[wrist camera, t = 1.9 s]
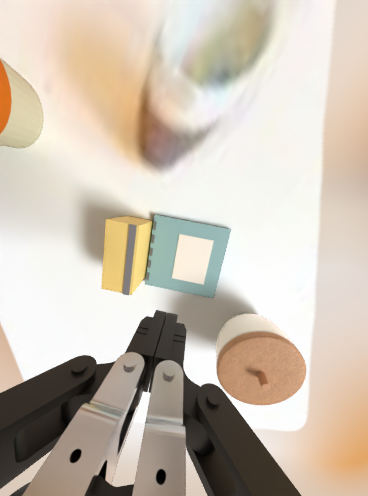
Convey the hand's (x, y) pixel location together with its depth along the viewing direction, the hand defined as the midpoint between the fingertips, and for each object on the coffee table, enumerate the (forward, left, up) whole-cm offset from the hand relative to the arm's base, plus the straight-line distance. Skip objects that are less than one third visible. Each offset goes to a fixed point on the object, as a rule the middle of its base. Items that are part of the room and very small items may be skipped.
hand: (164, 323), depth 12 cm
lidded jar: (+10, +12, -16) cm, 22 cm away
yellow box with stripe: (0, -7, -15) cm, 17 cm away
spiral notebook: (0, 0, -15) cm, 15 cm away
